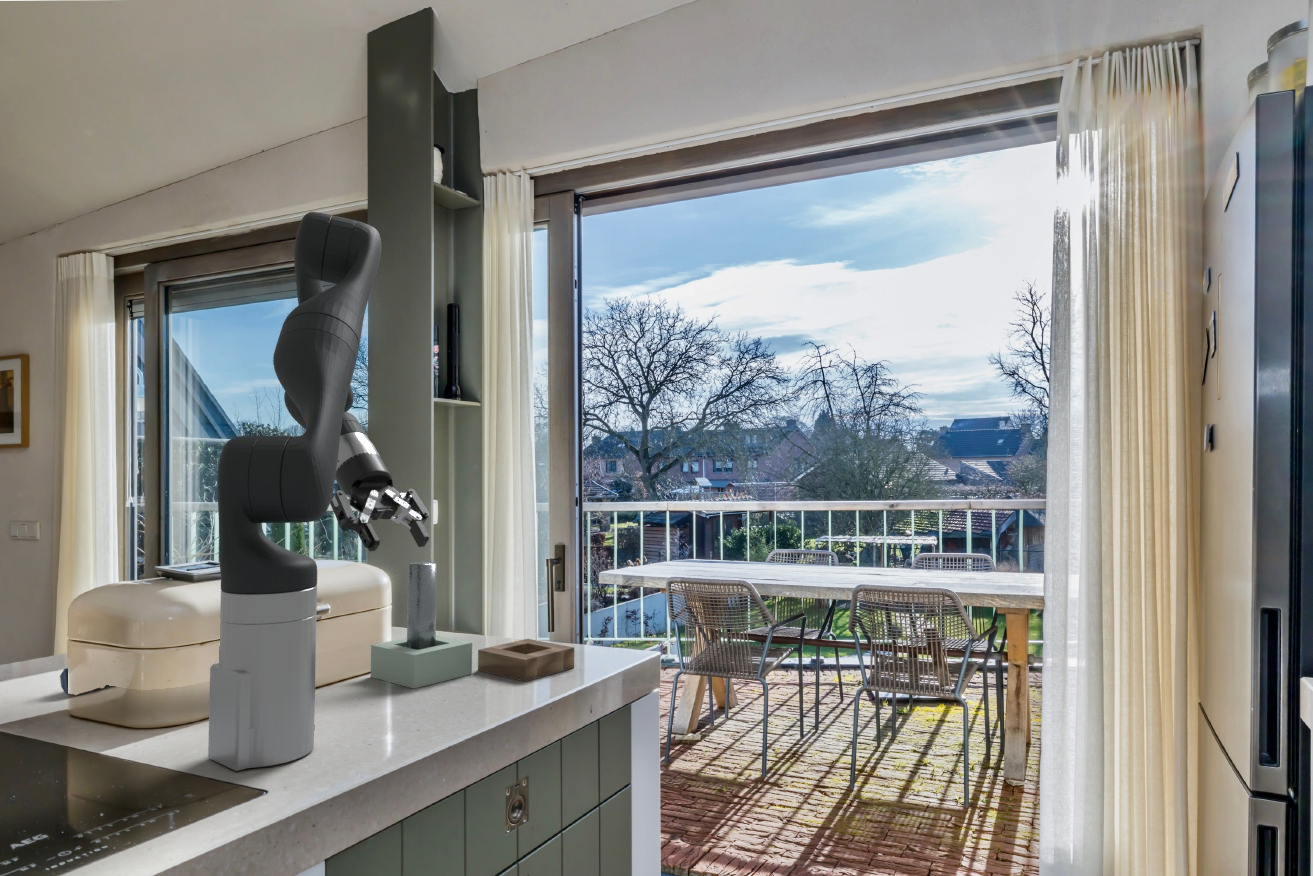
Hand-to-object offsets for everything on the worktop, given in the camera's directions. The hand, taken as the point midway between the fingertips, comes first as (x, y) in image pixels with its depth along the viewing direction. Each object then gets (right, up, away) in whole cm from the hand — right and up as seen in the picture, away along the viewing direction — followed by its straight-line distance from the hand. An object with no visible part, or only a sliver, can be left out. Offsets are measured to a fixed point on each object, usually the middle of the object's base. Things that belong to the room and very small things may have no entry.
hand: (400, 545), depth 123 cm
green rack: (+4, -18, -4) cm, 19 cm away
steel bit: (+4, -18, -4) cm, 19 cm away
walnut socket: (+19, -18, 0) cm, 26 cm away
